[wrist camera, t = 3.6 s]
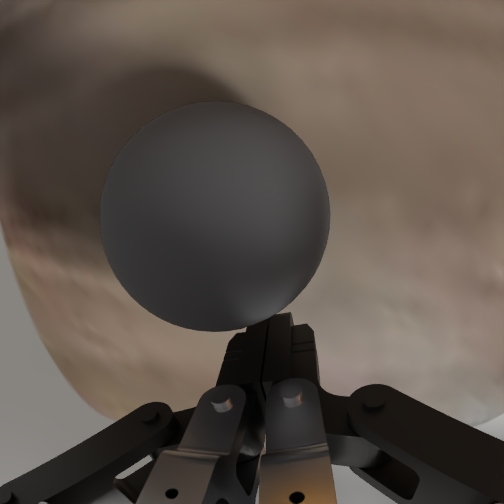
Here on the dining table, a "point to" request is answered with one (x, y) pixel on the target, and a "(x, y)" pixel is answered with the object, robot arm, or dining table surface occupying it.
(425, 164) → the dining table surface
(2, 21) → the dining table surface
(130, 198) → the gray ball
